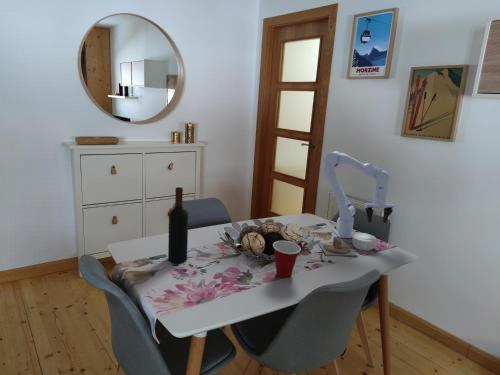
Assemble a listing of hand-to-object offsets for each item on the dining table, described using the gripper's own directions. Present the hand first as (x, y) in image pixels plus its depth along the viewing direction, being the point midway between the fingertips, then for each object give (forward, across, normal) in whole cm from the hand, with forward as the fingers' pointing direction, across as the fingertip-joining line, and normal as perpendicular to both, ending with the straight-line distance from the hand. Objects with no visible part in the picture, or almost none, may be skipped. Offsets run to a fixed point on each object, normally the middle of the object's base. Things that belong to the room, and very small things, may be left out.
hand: (376, 222), depth 185 cm
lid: (+10, -23, -10) cm, 27 cm away
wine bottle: (+9, -94, -25) cm, 98 cm away
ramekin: (+11, -9, -6) cm, 15 cm away
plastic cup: (+10, -52, -37) cm, 65 cm away
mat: (+10, -23, -11) cm, 27 cm away
